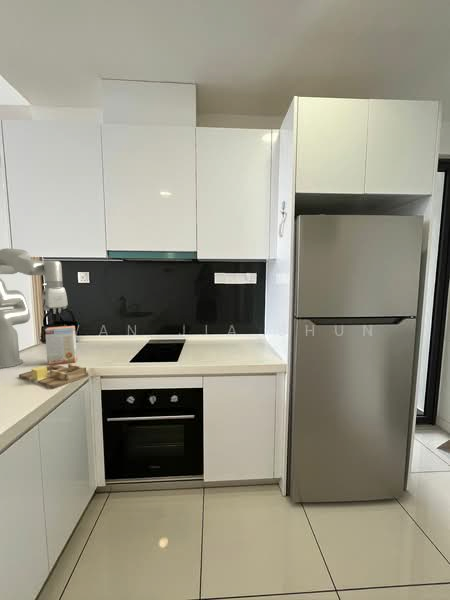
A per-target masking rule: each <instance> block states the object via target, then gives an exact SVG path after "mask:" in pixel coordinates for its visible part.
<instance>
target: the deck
mask: <svg viewBox="0 0 450 600" xmlns="http://www.w3.org/2000/svg"><path fill="white" fill-rule="evenodd" d="M45 367H46V368H47V375H48V377H45V378H42V379H39V380H36V379H33V378H32V370H30V371H27V372H24V373H21V374H18V378H19V379H22V380H25V381H28V382H30V383H34V384H37V385H40V386H43V387H46V388H49V389H52V390H53V389H57V388H60V387H63V386H65V385H68V384H71V383H73V382H76V381H79V380H82V379H85V378H87V377H89V373H88V372H86V374H84V375H81V376H78V377H76V378H73V379H70V380H67V381H66V380H62V379H59V378H55V377H52V376H50V370H52V369H53V370H56V371H60V372H64V373H70V372H73V371H70V370H68V366H67V367H66V366H61V365H60V364H54V365H48V366H45Z"/></svg>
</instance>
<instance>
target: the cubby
mask: <svg viewBox="0 0 450 600" xmlns="http://www.w3.org/2000/svg"><path fill="white" fill-rule="evenodd" d="M67 364H68V365H67V368H68V370H70V371H73V372H70V373H64V372H60V371H56V370H53V369H52V370H50V371H49V372H50V376H52V377H55V378H59V379H62V380H66V381H67V380H70V379H73V378H76V377H78V376H81V375H84V374H86V373H87V368H86V367H84V366H80V365H76V364H73V363H67Z"/></svg>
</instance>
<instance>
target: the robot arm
mask: <svg viewBox="0 0 450 600" xmlns="http://www.w3.org/2000/svg"><path fill="white" fill-rule="evenodd" d="M17 273H19V274H23V275H26V276H44V283H42V284H41V285H42V286H43V287H44V288H43V292H42V305H43V311H46V312H47V311H48V312H49V313H50V314H51V318H52V321H53V322H60V321H61V320H60V319H61V312H62V311H63V310H65V309H67V308H68V305H69V304H68V302H69V301H68V296H67V292H66V289H65V287H64V284H63V269H62V262H61V261H59V260H39V259H38V260H37V259H31V255H30V254H29V252H28V251H27V250H24V249H17V248H1V249H0V275H15V274H17ZM1 308H5V309H1ZM30 319H31V313H30V310H29V307H28V304H27V301H26V297H25V295H24V293H22V291H20V290H14V289H12V290H11V289H9V290H8V289H7V286H6V283H5V281H3V279H2V278H0V369H3V368H4V369H5V368H11V367H17V366H19V365H21V364H23V363H24V360H23V359H21V357H20V347H19V334H18V332H17V330H16V328H15V327H14V326H17V325H22V324H26V323H28V322H29V321H30Z"/></svg>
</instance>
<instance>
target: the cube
mask: <svg viewBox="0 0 450 600" xmlns="http://www.w3.org/2000/svg"><path fill="white" fill-rule="evenodd" d="M46 367H47V366H38V367H35V368H31V371H32V378H33V379H36V380H39V379H42V378H45V377H48V375H47V372H48V371H47V368H46Z"/></svg>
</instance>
